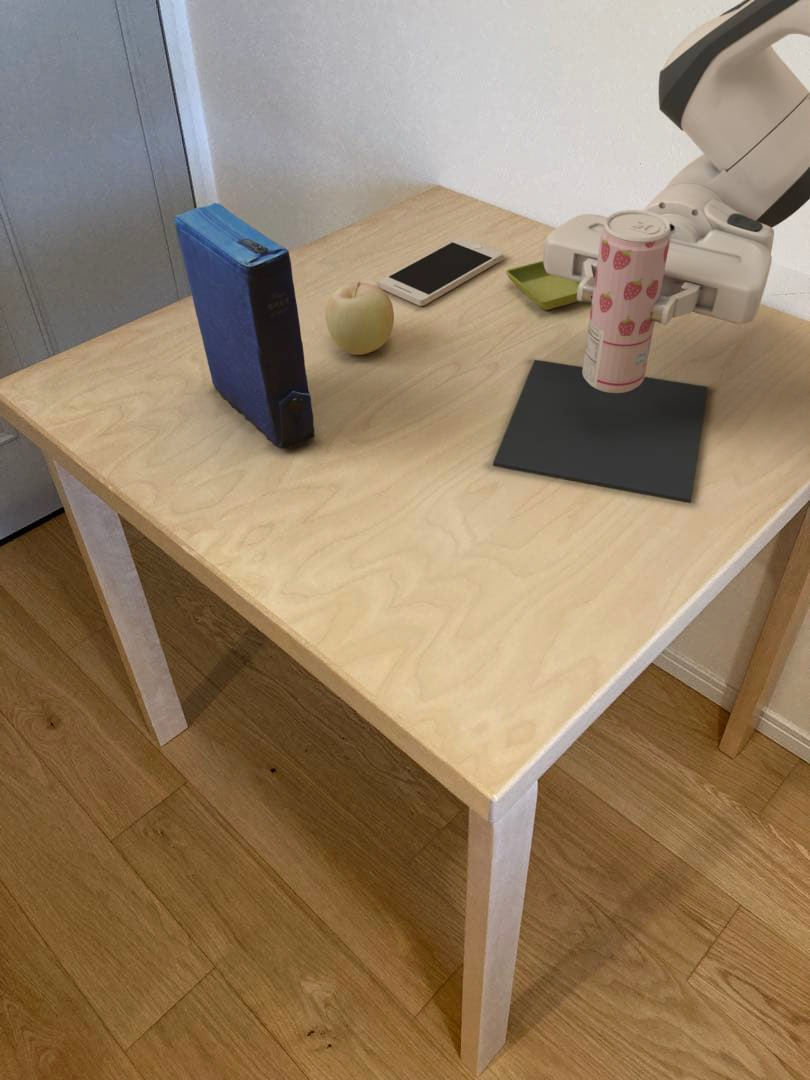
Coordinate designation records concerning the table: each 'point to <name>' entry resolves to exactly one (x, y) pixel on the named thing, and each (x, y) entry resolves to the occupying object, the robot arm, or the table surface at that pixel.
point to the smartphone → (440, 271)
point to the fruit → (359, 317)
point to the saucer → (543, 286)
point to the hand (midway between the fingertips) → (621, 305)
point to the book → (248, 321)
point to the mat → (606, 432)
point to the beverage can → (625, 299)
